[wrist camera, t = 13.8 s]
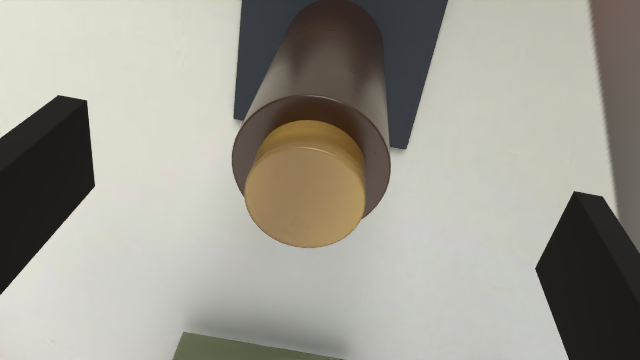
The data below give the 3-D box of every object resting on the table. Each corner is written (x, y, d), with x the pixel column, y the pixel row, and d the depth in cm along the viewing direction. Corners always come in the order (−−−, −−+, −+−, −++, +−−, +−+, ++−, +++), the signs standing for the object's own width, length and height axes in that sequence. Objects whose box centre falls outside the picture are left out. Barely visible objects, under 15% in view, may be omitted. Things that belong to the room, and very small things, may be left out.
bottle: (393, 8, 23) (412, 139, 12) (371, 103, 26) (372, 280, 15) (291, -10, 23) (222, 105, 12) (279, 86, 26) (213, 252, 15)
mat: (456, -37, 22) (457, -35, 22) (405, 146, 27) (406, 149, 27) (249, -74, 22) (247, -73, 22) (234, 115, 27) (233, 119, 27)
